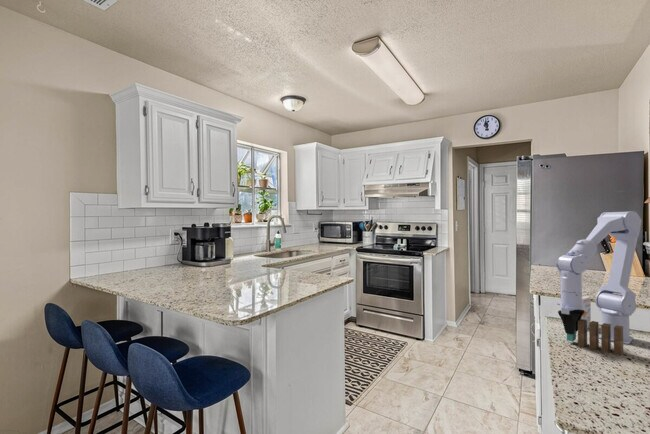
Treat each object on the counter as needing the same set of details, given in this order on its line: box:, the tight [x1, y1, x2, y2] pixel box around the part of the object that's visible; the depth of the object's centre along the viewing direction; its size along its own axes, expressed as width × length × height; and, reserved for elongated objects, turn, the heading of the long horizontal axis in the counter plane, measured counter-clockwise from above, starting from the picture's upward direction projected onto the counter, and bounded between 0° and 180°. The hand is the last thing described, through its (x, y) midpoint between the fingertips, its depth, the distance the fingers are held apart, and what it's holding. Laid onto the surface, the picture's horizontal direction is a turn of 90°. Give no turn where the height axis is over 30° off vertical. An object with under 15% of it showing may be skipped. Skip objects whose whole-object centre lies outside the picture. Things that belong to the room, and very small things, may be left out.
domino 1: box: [566, 325, 577, 342], centre depth 113 cm, size 2×4×8 cm, turn 131°
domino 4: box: [600, 323, 612, 353], centre depth 106 cm, size 2×4×8 cm, turn 131°
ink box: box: [580, 294, 592, 328], centre depth 131 cm, size 8×5×15 cm, turn 123°
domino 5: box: [613, 325, 624, 356], centre depth 104 cm, size 2×4×8 cm, turn 130°
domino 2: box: [577, 319, 588, 348], centre depth 111 cm, size 2×4×8 cm, turn 131°
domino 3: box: [588, 320, 600, 351], centre depth 108 cm, size 2×4×8 cm, turn 131°
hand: (571, 332), depth 113 cm, fingers closed on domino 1, 4 cm apart
